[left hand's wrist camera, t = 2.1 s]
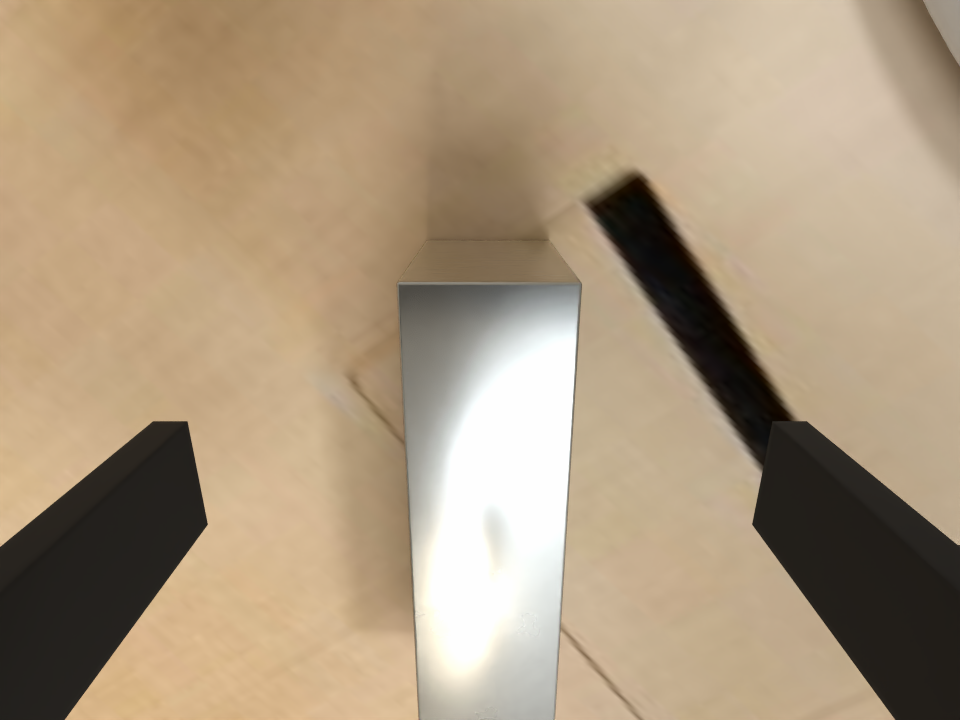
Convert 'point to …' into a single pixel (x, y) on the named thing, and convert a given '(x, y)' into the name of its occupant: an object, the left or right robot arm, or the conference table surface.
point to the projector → (947, 22)
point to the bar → (488, 470)
